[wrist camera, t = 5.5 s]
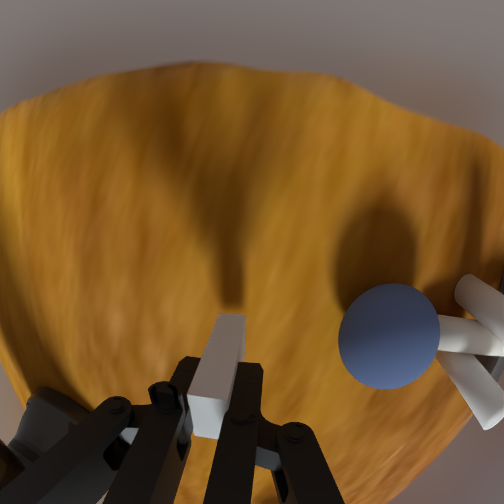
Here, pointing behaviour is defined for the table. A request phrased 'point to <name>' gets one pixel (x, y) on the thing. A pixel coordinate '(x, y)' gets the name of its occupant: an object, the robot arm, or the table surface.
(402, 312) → the ball
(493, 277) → the table surface
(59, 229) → the table surface
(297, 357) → the table surface
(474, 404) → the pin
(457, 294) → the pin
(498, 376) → the back wall
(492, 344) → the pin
